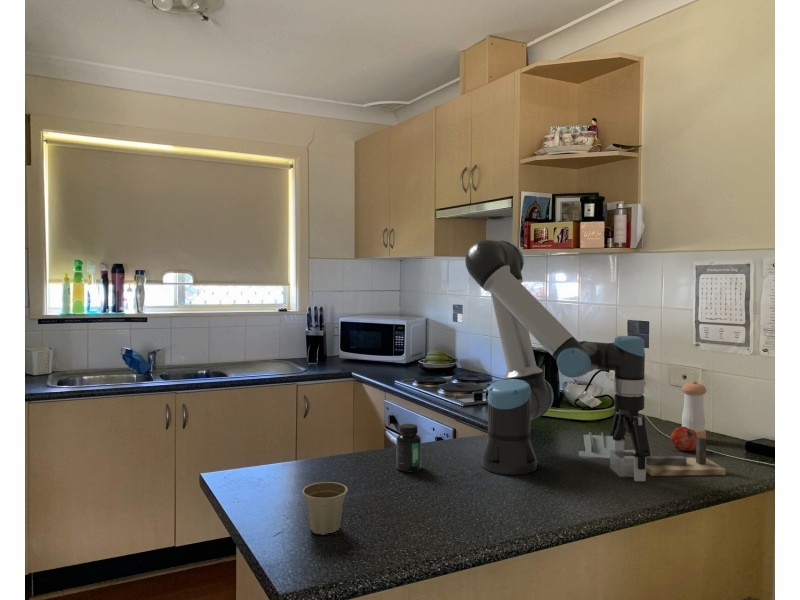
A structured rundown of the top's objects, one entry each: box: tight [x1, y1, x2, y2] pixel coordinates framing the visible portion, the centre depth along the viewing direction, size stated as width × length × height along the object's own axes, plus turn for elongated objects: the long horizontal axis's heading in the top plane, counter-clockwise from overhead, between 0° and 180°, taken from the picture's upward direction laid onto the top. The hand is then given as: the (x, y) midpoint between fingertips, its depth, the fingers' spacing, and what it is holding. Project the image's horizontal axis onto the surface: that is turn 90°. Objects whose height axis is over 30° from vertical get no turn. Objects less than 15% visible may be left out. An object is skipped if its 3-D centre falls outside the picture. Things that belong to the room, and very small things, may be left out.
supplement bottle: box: [395, 423, 422, 472], centre depth 162 cm, size 7×7×12 cm
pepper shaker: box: [681, 380, 707, 440], centre depth 188 cm, size 7×7×19 cm
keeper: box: [646, 437, 727, 477], centre depth 161 cm, size 20×10×8 cm, turn 91°
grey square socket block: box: [609, 449, 647, 478], centre depth 159 cm, size 7×7×5 cm
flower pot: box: [302, 481, 348, 533], centre depth 124 cm, size 9×9×9 cm
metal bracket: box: [578, 432, 614, 460], centre depth 176 cm, size 14×6×15 cm
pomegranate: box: [670, 426, 697, 452], centre depth 178 cm, size 7×7×10 cm
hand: (628, 472), depth 159 cm, fingers open, 13 cm apart
